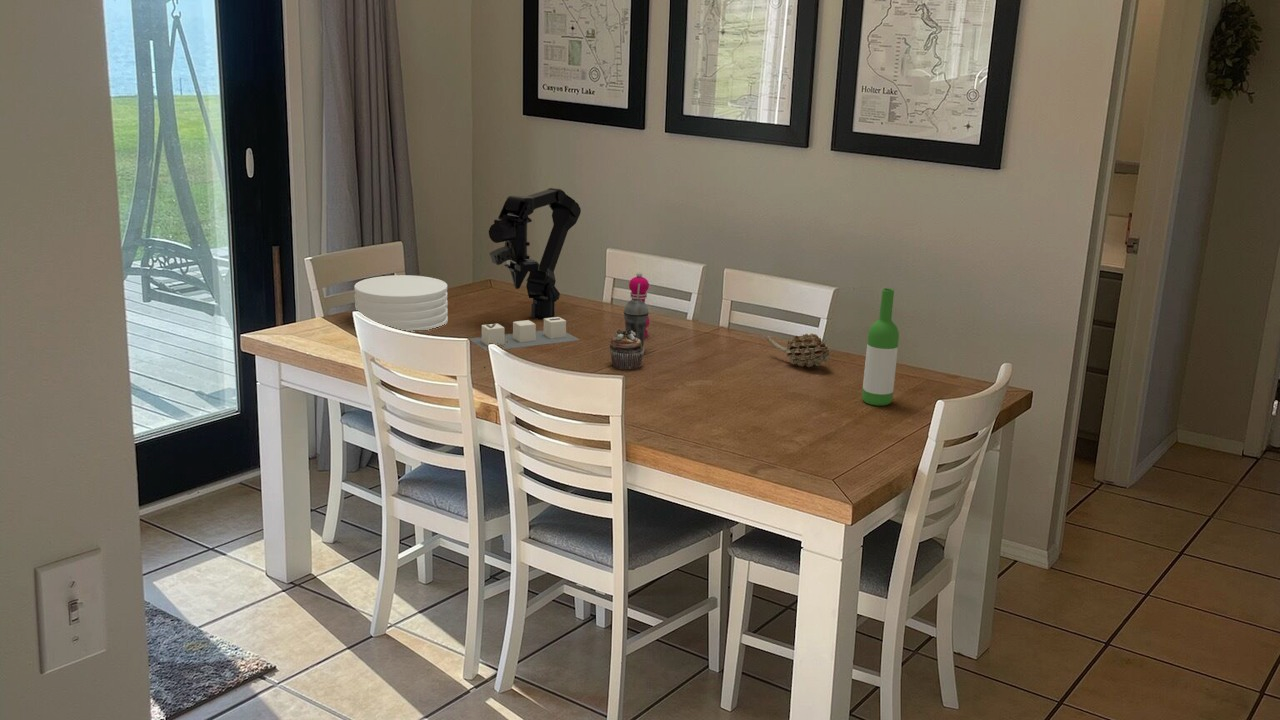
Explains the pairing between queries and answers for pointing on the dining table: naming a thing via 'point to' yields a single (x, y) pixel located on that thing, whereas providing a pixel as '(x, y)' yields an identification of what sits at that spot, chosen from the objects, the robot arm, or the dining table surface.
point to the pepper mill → (642, 291)
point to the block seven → (493, 334)
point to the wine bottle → (881, 355)
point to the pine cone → (805, 350)
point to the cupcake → (626, 350)
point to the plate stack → (403, 301)
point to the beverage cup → (636, 317)
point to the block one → (554, 327)
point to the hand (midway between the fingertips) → (517, 288)
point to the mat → (514, 343)
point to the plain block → (524, 331)
